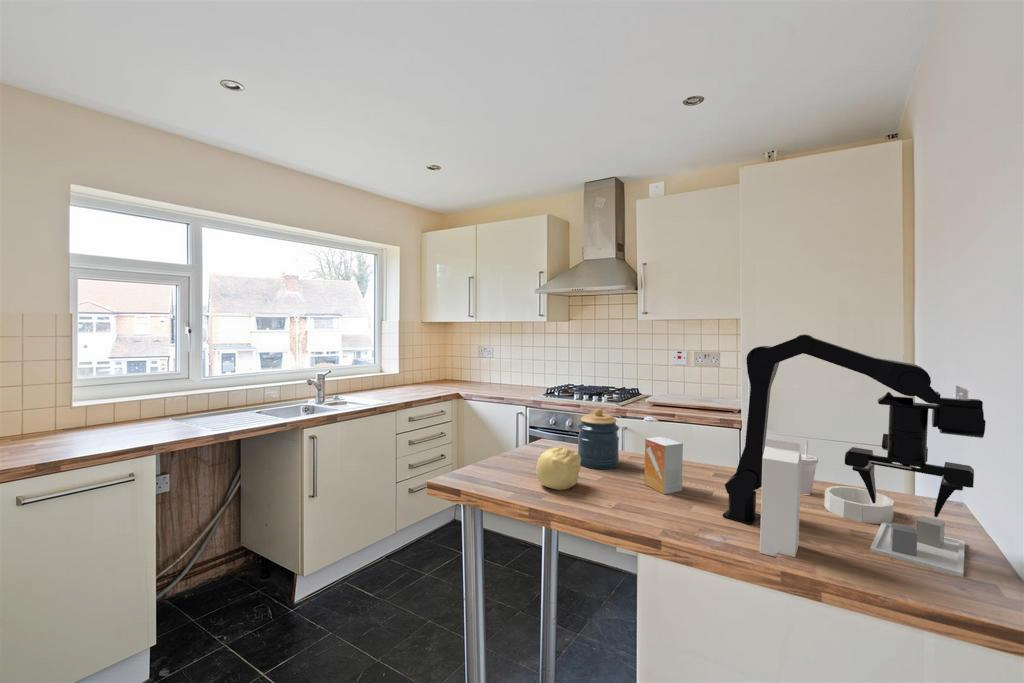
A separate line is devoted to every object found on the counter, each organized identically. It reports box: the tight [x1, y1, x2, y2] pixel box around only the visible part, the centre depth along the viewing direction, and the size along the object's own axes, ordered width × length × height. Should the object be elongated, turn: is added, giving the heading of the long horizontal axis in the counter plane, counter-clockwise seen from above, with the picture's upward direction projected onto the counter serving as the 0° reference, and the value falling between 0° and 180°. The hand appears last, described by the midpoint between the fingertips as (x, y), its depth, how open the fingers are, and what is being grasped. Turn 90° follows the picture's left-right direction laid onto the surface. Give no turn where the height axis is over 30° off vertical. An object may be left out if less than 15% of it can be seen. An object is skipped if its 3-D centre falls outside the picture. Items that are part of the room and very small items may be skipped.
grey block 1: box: [890, 521, 917, 556], centre depth 91 cm, size 4×4×4 cm
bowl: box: [824, 485, 895, 525], centre depth 110 cm, size 13×13×5 cm
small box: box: [643, 436, 684, 495], centre depth 127 cm, size 8×6×13 cm
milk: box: [759, 438, 802, 558], centre depth 92 cm, size 6×6×22 cm
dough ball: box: [535, 445, 582, 491], centre depth 129 cm, size 11×12×11 cm
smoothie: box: [800, 440, 819, 495], centre depth 124 cm, size 6×6×14 cm
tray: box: [869, 522, 966, 578], centre depth 92 cm, size 17×13×2 cm
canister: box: [577, 407, 620, 470], centre depth 149 cm, size 13×13×18 cm
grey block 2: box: [915, 515, 946, 548], centre depth 94 cm, size 4×4×4 cm
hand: (903, 509), depth 91 cm, fingers open, 9 cm apart
